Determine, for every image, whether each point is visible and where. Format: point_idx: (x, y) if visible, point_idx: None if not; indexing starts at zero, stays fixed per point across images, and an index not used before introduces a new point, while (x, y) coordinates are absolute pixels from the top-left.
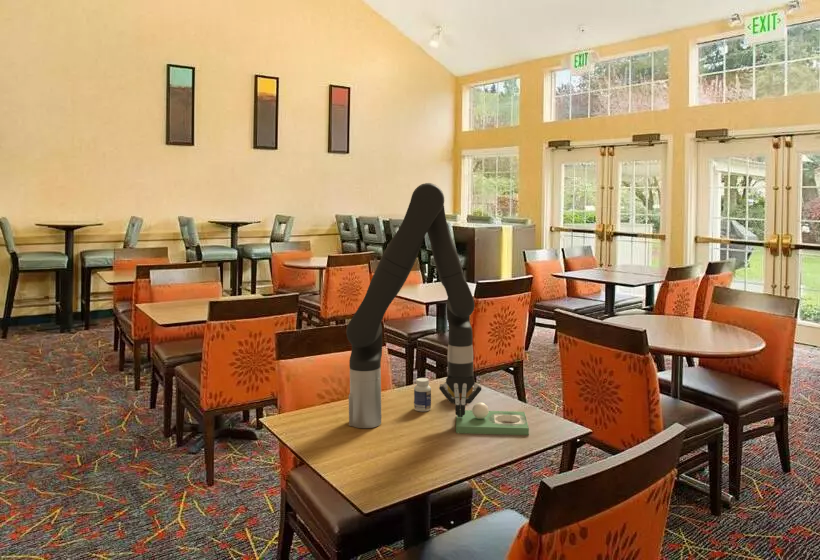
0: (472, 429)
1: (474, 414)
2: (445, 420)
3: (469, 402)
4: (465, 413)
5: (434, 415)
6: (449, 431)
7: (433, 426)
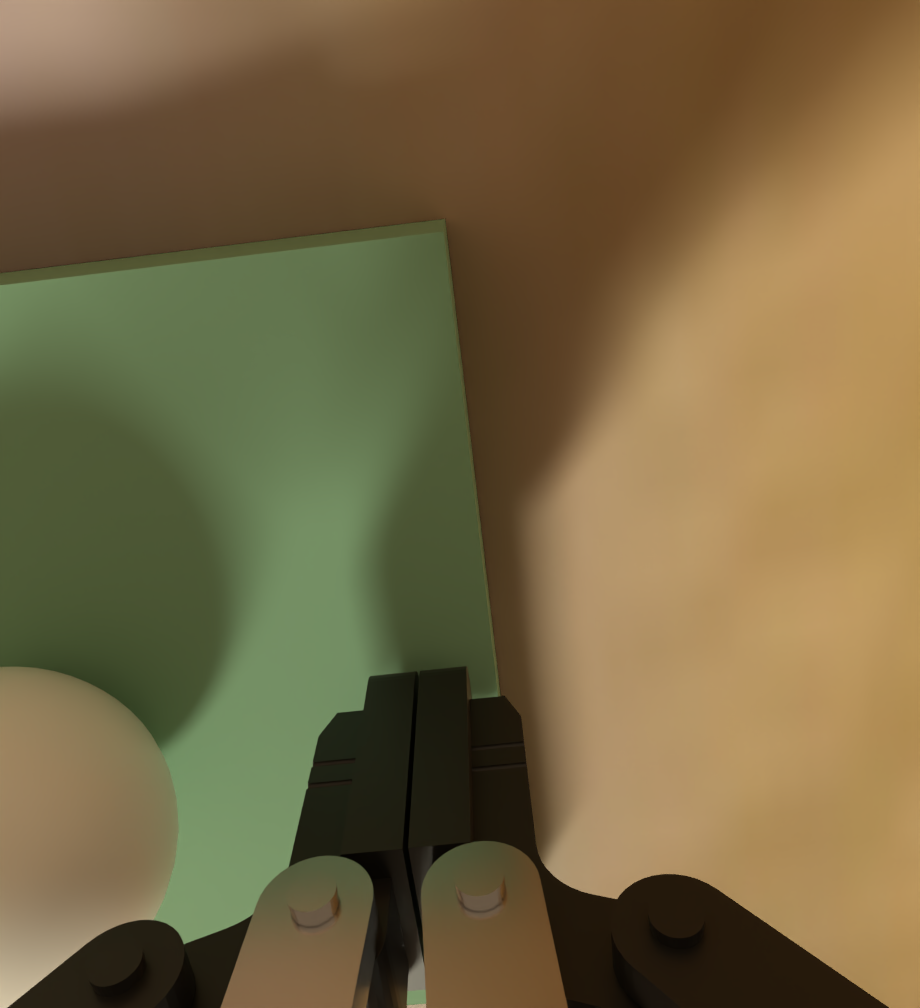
0: (107, 266)
1: (106, 714)
2: (683, 750)
3: (127, 946)
4: None
5: (853, 893)
6: (580, 289)
7: (879, 478)
